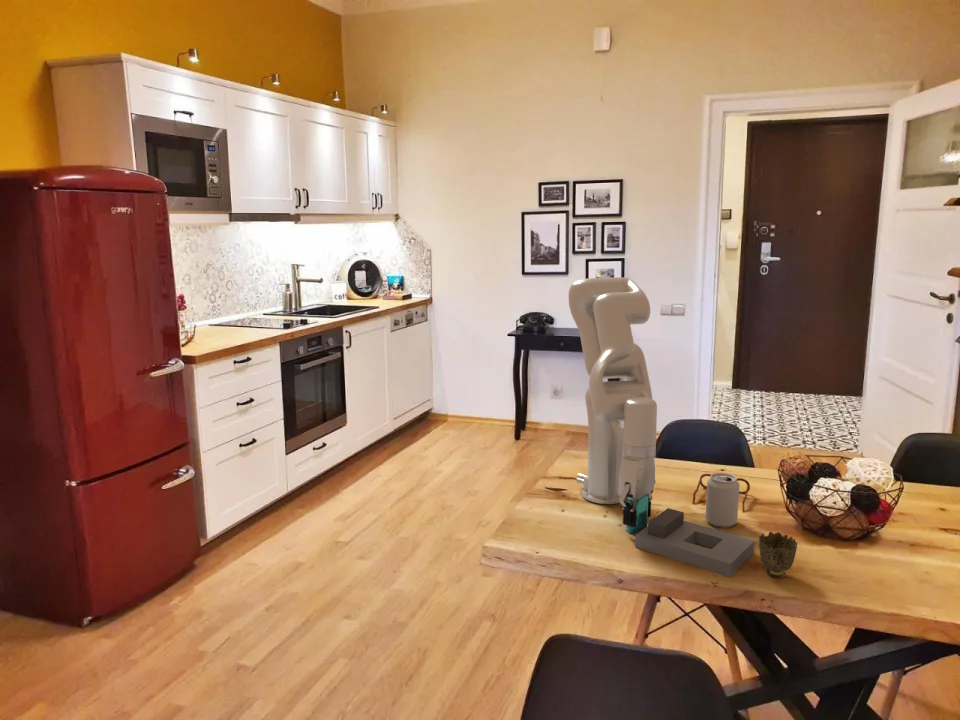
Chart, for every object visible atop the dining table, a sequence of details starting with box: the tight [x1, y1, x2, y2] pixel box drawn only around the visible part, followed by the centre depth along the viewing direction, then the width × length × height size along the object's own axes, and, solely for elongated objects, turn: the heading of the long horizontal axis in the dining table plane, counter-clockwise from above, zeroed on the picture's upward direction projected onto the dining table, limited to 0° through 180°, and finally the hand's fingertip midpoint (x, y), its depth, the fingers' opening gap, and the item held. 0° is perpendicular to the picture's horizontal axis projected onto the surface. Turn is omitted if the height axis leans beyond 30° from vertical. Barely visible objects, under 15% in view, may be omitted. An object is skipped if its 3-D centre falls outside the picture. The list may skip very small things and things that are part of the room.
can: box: [704, 472, 740, 529], centre depth 173 cm, size 8×8×12 cm
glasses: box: [692, 473, 751, 513], centre depth 188 cm, size 13×13×5 cm
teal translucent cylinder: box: [625, 494, 649, 536], centre depth 170 cm, size 5×5×9 cm
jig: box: [634, 507, 756, 578], centre depth 160 cm, size 22×14×6 cm, turn 50°
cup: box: [758, 531, 798, 578], centre depth 148 cm, size 8×7×8 cm
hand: (636, 519), depth 170 cm, fingers open, 6 cm apart
